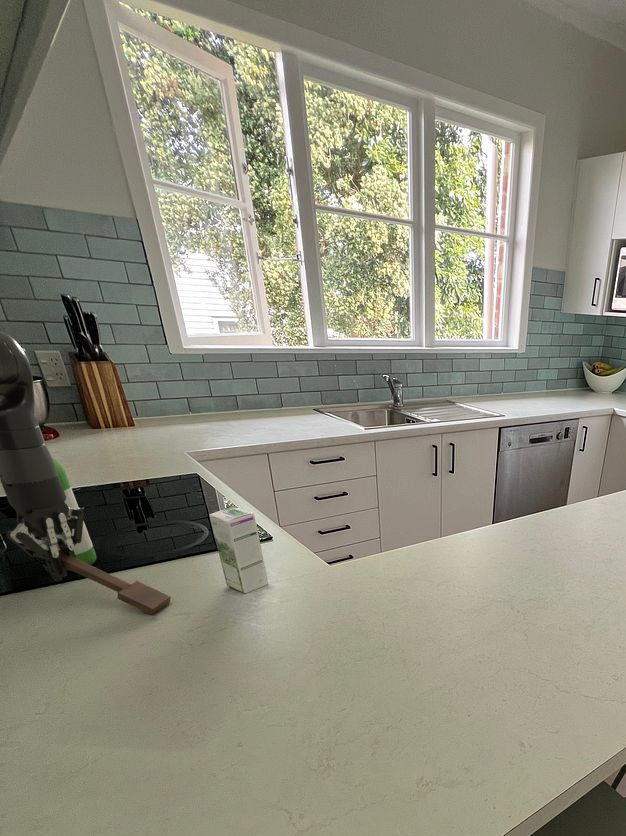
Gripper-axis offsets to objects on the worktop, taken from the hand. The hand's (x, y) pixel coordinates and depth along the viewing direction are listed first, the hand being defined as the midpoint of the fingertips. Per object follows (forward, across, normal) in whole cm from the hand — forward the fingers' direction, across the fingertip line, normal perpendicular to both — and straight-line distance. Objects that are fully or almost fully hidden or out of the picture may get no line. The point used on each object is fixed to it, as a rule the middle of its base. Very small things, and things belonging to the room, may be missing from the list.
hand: (66, 572), depth 95 cm
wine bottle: (+6, -13, -12) cm, 18 cm away
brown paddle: (+1, 0, +8) cm, 8 cm away
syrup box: (+5, -12, +27) cm, 30 cm away
